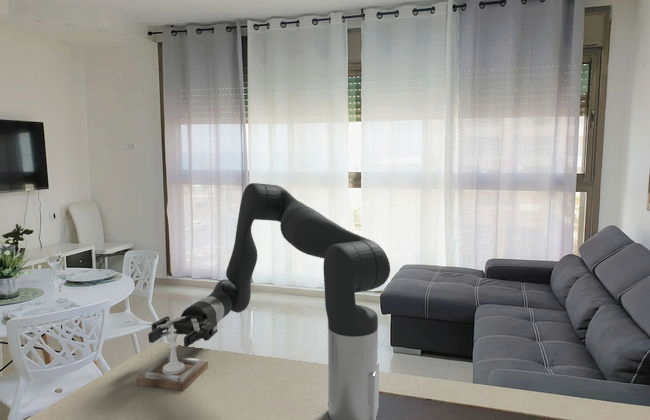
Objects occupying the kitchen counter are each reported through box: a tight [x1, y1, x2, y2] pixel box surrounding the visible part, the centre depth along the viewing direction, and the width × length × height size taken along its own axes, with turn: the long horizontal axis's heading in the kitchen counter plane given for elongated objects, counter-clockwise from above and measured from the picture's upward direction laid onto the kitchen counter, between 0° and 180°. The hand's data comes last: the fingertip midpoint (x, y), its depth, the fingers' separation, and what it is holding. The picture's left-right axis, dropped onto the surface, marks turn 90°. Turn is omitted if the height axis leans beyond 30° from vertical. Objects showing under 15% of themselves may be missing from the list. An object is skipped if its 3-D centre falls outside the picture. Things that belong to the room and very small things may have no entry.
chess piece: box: [162, 326, 186, 375], centre depth 106 cm, size 5×5×10 cm
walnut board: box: [136, 355, 209, 392], centre depth 107 cm, size 11×11×2 cm
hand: (167, 340), depth 104 cm, fingers open, 8 cm apart
